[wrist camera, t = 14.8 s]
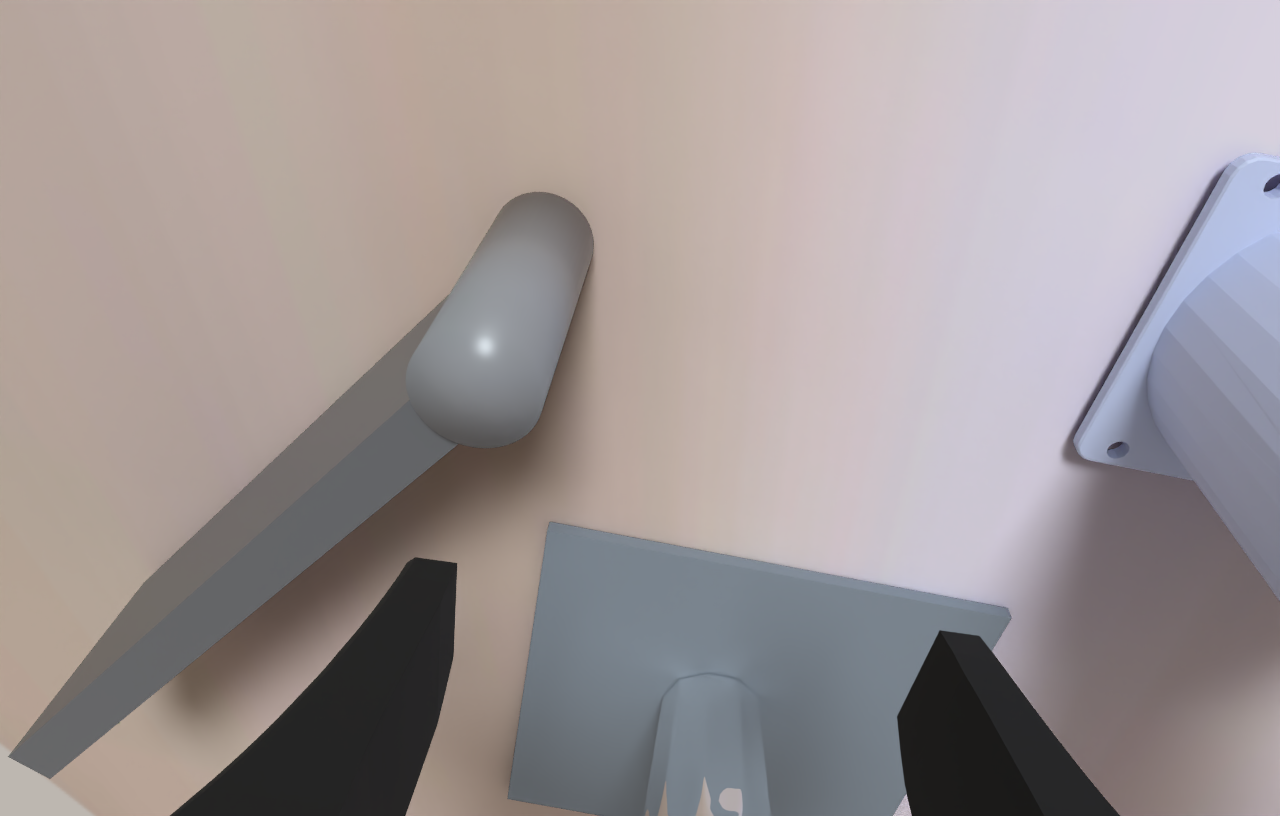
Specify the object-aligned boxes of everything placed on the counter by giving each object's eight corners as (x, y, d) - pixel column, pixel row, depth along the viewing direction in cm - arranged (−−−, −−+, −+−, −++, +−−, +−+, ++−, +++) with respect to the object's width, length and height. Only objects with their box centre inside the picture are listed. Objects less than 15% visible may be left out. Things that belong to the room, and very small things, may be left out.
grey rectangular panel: (614, 246, 20) (572, 399, 15) (191, 613, 29) (65, 796, 23) (540, 170, 20) (465, 303, 14) (127, 572, 28) (-20, 752, 23)
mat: (1007, 608, 26) (1011, 618, 26) (862, 853, 34) (864, 863, 34) (549, 521, 26) (547, 530, 26) (509, 789, 34) (507, 798, 33)
